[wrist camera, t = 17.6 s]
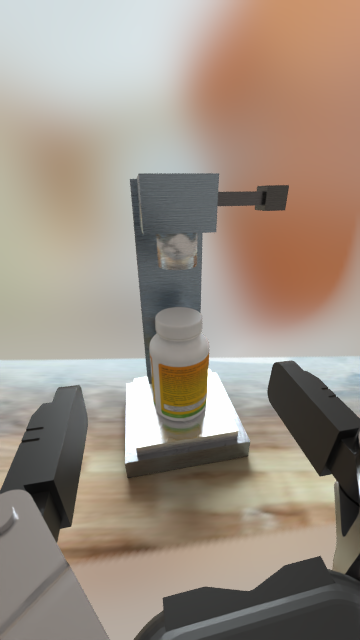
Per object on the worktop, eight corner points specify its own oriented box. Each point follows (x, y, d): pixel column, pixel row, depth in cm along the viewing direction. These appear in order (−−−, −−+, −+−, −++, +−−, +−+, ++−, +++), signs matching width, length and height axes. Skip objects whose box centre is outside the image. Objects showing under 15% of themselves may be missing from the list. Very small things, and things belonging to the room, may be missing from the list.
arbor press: (127, 478, 22) (74, 167, 11) (128, 390, 31) (99, 180, 21) (285, 449, 24) (358, 168, 14) (240, 376, 34) (263, 179, 23)
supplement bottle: (218, 404, 25) (224, 317, 21) (175, 433, 22) (172, 338, 18) (183, 377, 29) (183, 299, 25) (143, 399, 26) (134, 314, 22)
